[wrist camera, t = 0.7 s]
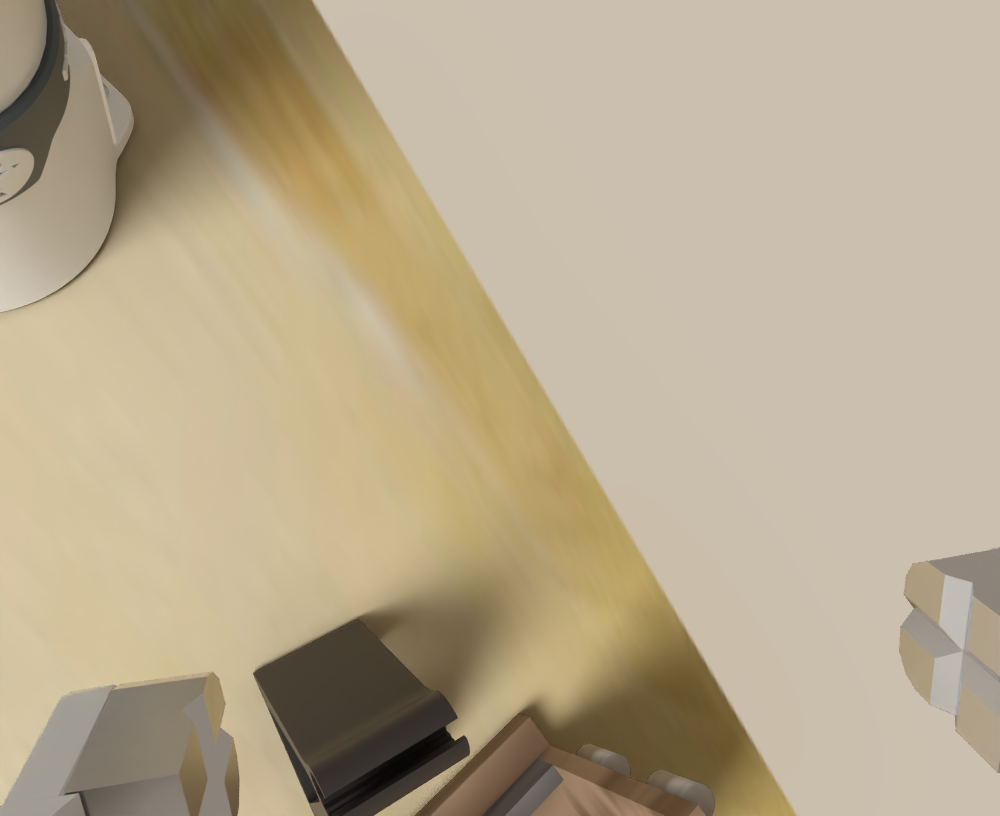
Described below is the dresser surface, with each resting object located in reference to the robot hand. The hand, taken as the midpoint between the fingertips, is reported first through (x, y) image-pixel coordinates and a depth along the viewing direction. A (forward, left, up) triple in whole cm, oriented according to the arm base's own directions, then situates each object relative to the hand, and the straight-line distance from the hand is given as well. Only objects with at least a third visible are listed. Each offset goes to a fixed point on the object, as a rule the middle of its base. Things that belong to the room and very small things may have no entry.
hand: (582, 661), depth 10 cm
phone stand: (+8, 0, -37) cm, 38 cm away
